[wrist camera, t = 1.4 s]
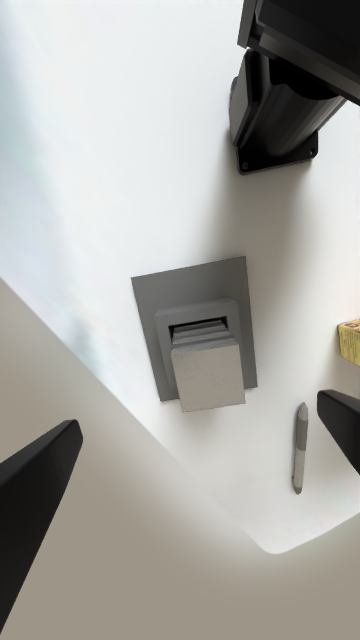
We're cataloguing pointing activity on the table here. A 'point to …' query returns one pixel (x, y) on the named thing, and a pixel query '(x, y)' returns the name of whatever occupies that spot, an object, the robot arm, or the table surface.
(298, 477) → the pen
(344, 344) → the candy box
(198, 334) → the column
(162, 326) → the stand base
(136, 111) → the table surface
